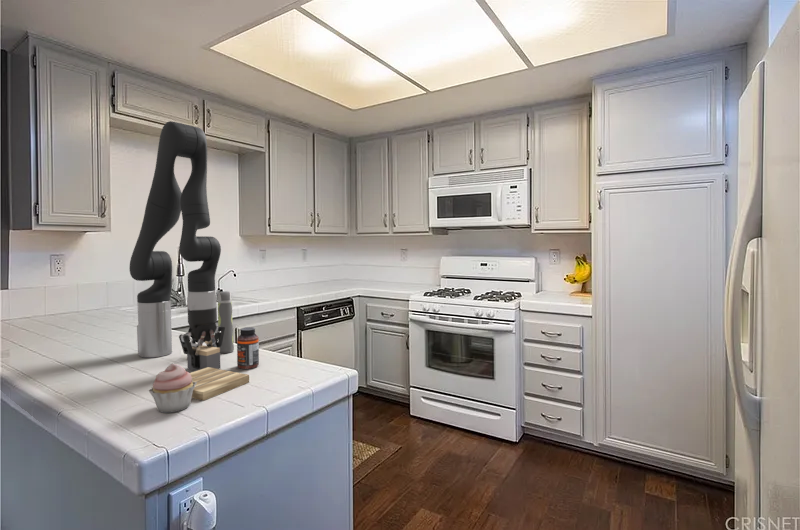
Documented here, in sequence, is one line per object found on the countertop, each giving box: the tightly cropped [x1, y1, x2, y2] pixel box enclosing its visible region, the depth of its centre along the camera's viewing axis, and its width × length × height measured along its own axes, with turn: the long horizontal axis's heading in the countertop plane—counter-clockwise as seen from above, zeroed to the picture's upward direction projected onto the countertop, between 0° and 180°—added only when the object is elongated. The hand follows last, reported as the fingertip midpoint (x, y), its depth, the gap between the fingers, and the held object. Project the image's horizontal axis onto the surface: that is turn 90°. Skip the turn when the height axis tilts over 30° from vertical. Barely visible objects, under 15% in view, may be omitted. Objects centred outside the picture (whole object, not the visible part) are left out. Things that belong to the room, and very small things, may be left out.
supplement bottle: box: [236, 326, 260, 370], centre depth 123 cm, size 6×6×11 cm
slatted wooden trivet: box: [189, 367, 250, 402], centre depth 107 cm, size 15×14×2 cm
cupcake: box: [147, 363, 197, 414], centre depth 93 cm, size 9×9×10 cm
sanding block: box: [186, 344, 221, 372], centre depth 121 cm, size 8×4×6 cm, turn 64°
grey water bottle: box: [217, 290, 235, 354], centre depth 139 cm, size 5×5×20 cm
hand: (203, 365), depth 122 cm, fingers closed on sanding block, 4 cm apart
